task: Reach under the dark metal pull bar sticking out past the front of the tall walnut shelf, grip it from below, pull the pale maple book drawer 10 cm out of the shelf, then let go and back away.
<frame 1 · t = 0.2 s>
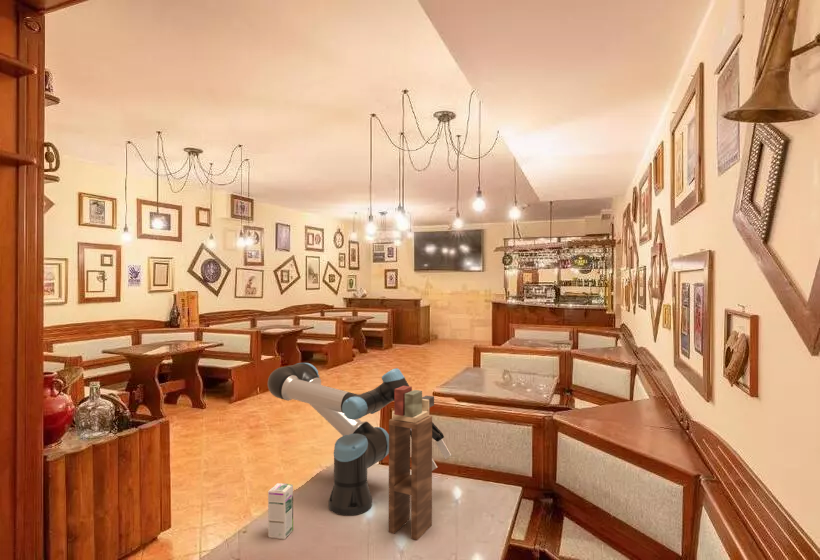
hand: (441, 463, 164), 15 cm above the table, tool tilted 35°, fingers open, 13 cm apart
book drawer: (417, 399, 154), point 40 cm above the table, slide at 0.0 cm
syrup box: (280, 534, 146), on the table
walnut shelf: (410, 528, 149), on the table
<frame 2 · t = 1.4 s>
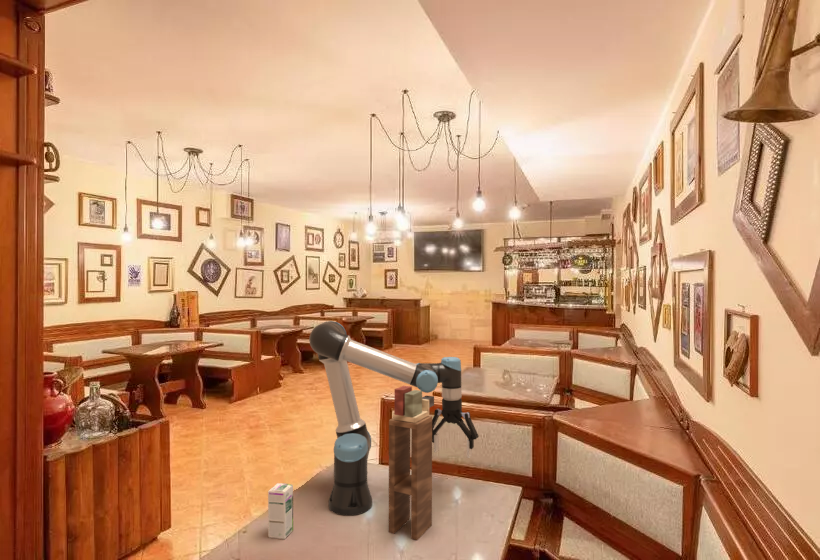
hand: (452, 454, 179), 13 cm above the table, tool pointing down, fingers open, 13 cm apart
nothing on the table moved.
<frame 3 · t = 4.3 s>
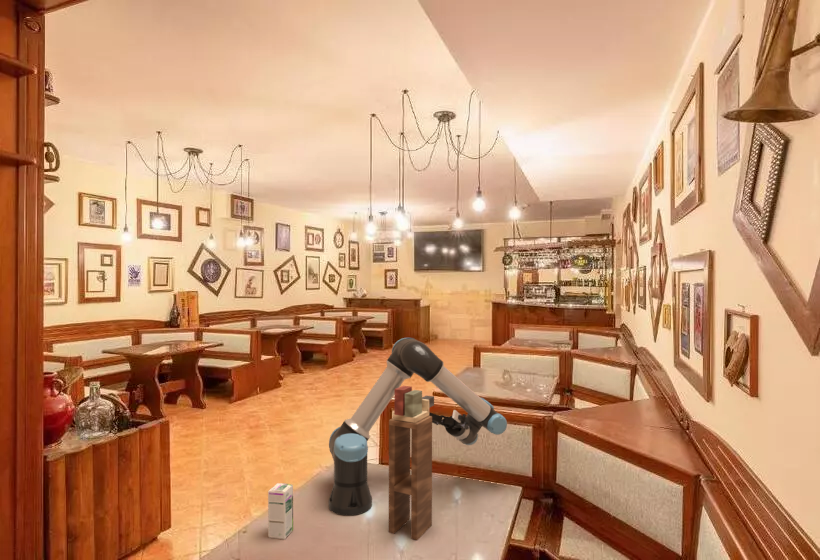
hand: (436, 411, 168), 32 cm above the table, tool pointing upward, fingers open, 13 cm apart
nothing on the table moved.
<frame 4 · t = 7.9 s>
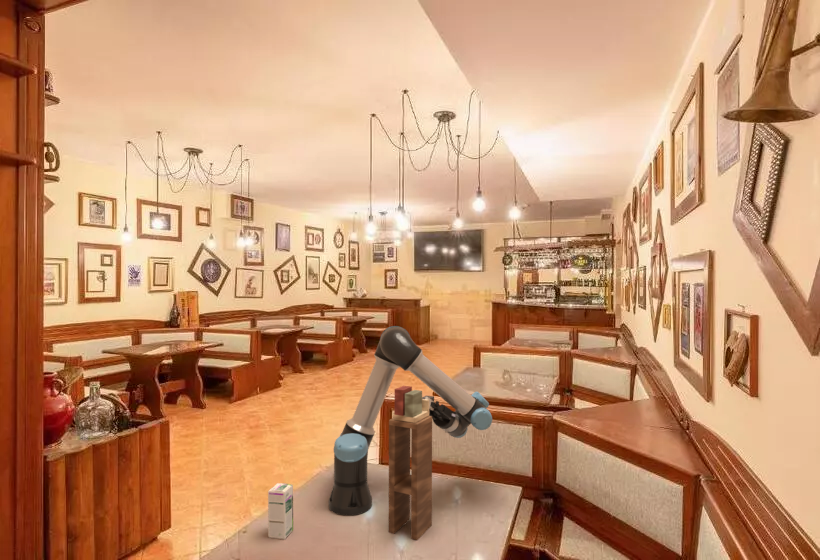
hand: (420, 400, 156), 39 cm above the table, tool pointing upward, fingers open, 3 cm apart
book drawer: (417, 399, 154), point 40 cm above the table, slide at 0.0 cm, touching gripper
everything else where it was.
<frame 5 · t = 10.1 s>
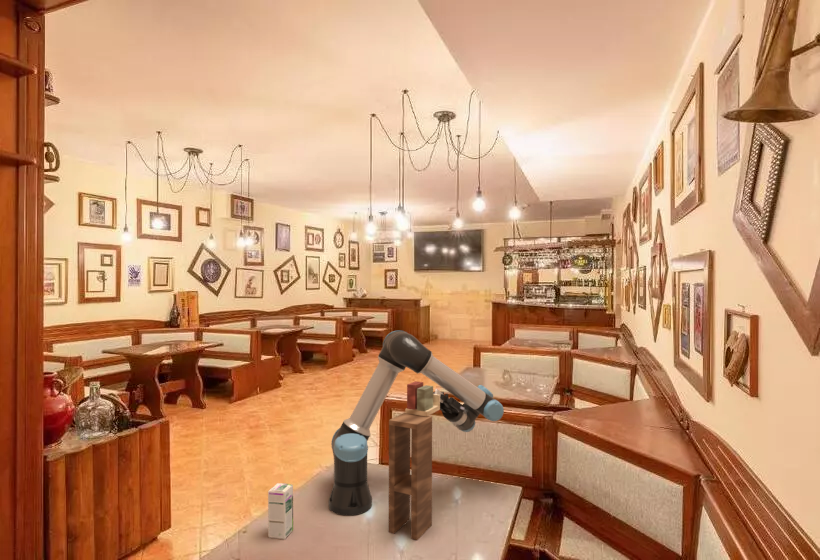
hand: (431, 392, 163), 40 cm above the table, tool pointing upward, fingers closed on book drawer, 3 cm apart
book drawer: (428, 394, 162), point 40 cm above the table, slide at 8.3 cm, touching gripper
everything else where it was.
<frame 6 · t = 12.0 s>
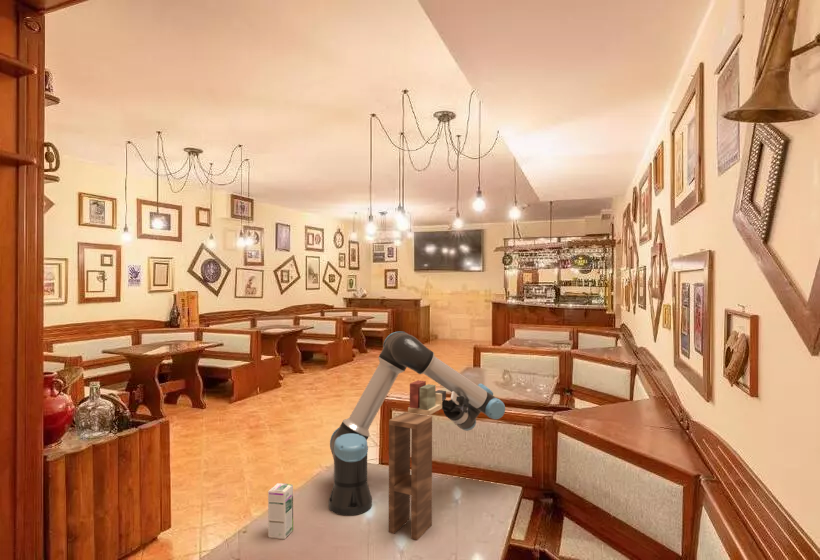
hand: (435, 392, 167), 39 cm above the table, tool pointing upward, fingers open, 12 cm apart
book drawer: (431, 393, 163), point 40 cm above the table, slide at 10.2 cm
everything else where it was.
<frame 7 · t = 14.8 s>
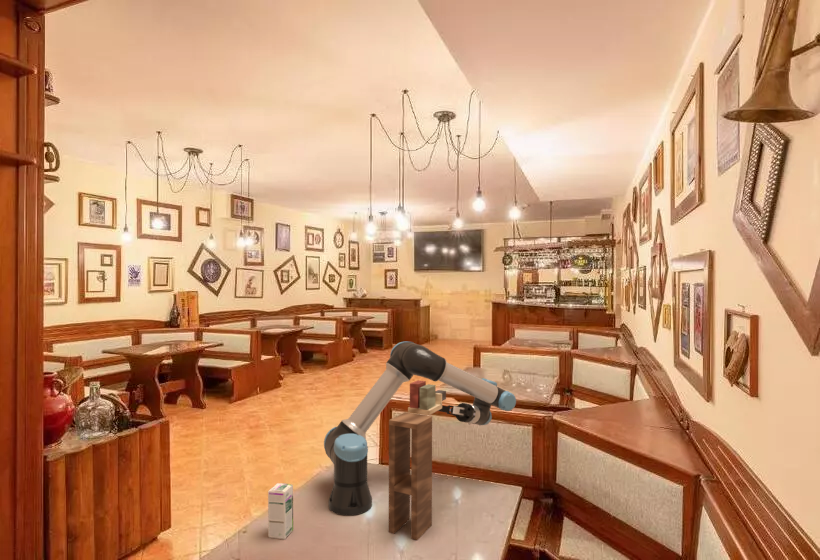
hand: (438, 407, 177), 32 cm above the table, tool pointing upward, fingers open, 13 cm apart
nothing on the table moved.
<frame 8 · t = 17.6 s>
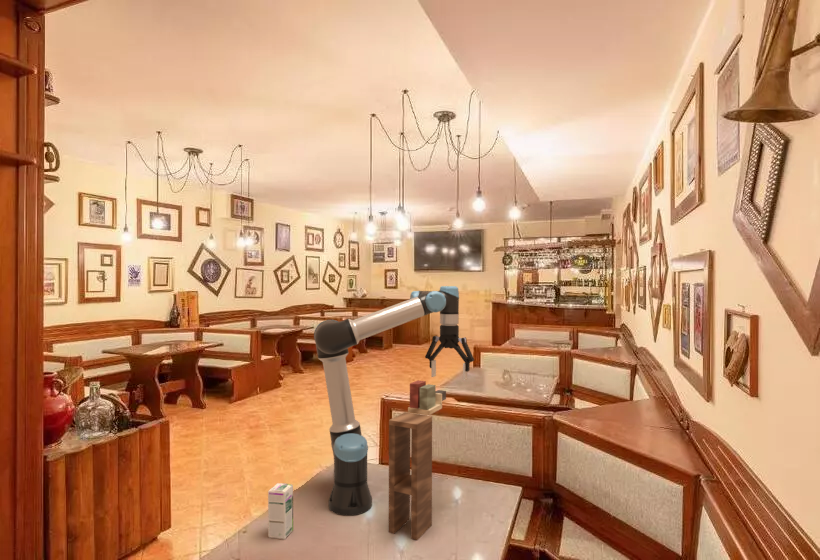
hand: (449, 378, 187), 41 cm above the table, tool pointing down, fingers open, 13 cm apart
nothing on the table moved.
at the end: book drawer slide at 10.2 cm; the gripper is holding nothing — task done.
